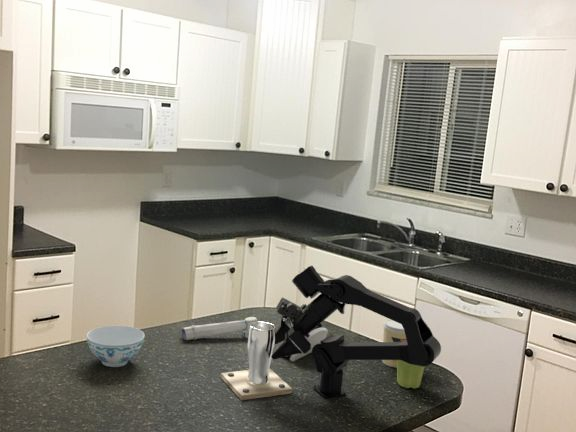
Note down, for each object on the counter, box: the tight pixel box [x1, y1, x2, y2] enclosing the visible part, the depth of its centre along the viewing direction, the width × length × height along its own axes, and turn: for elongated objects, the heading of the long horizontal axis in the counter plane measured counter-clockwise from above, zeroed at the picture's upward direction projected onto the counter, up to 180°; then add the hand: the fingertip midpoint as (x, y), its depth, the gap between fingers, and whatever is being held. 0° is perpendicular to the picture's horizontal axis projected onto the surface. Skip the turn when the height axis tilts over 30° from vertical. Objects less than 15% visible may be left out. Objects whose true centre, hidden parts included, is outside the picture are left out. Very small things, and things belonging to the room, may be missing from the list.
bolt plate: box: [220, 367, 293, 401], centre depth 165 cm, size 14×14×2 cm
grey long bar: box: [180, 316, 259, 341], centre depth 198 cm, size 5×7×25 cm
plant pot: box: [396, 360, 426, 389], centre depth 174 cm, size 9×9×9 cm
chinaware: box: [86, 325, 146, 368], centre depth 171 cm, size 15×15×8 cm
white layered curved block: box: [285, 325, 329, 362], centre depth 191 cm, size 17×5×10 cm, turn 147°
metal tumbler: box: [246, 321, 276, 386], centre depth 164 cm, size 7×7×15 cm
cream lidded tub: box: [381, 319, 407, 369], centre depth 189 cm, size 9×9×12 cm
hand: (270, 351), depth 164 cm, fingers open, 9 cm apart
